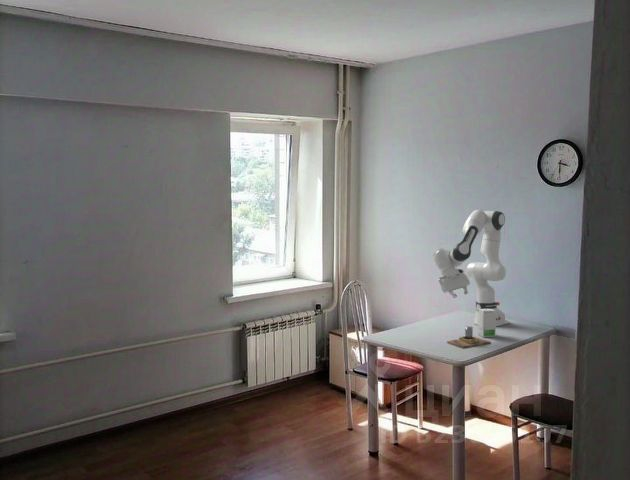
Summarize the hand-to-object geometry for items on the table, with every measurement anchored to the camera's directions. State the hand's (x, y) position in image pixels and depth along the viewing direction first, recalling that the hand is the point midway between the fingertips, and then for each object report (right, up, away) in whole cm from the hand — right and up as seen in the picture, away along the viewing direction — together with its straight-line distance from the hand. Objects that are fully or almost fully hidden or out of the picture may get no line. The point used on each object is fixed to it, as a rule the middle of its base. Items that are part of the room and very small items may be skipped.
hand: (461, 295), depth 343 cm
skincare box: (+16, -24, +5) cm, 29 cm away
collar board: (+2, -26, -11) cm, 28 cm away
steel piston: (+2, -25, -11) cm, 27 cm away
